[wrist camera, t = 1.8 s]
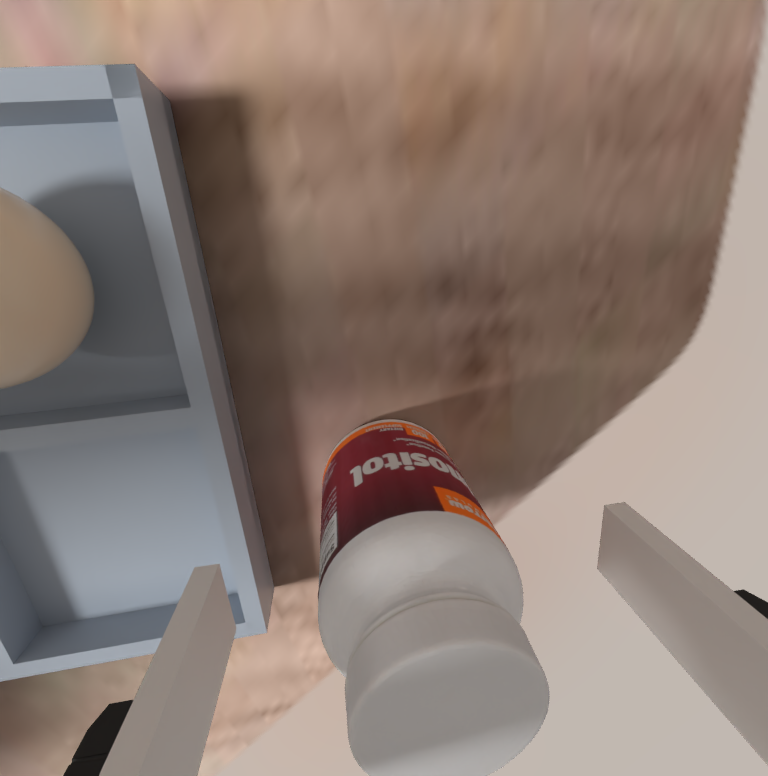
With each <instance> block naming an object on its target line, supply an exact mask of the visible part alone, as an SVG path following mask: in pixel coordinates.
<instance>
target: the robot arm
mask: <svg viewBox="0 0 768 776" xmlns="http://www.w3.org/2000/svg"><path fill="white" fill-rule="evenodd" d="M597 569H598V570H599V571H600V572H601V573H602V575H603V576H604V577H605V578H606V579H607V580H608V582H609V583H610V584H611V585H612V586H613V587H614V588H615V590H616V591H617V592H618V593H619V594H620V595H621V597H622V598H623V599H624V600H625V601H626V602H627V603H628V605H629V606H630V607H631V608H632V609H633V610H634V612H635V613H636V614H637V615H638V616H639V617H640V618H641V620H642V621H643V622H644V623H645V624H646V625H647V627H648V628H649V629H650V630H651V631H652V632H653V633H654V635H655V636H656V637H657V638H658V639H659V640H660V642H661V643H662V644H663V645H664V646H665V647H666V648H667V650H668V651H669V652H670V653H671V654H672V655H673V657H674V658H675V659H676V660H677V661H678V662H679V664H680V665H681V666H682V667H683V668H684V669H685V670H686V672H687V673H688V674H689V675H690V676H691V677H692V679H693V680H694V681H695V682H696V683H697V684H698V685H699V687H700V688H701V689H702V690H703V691H704V692H705V694H706V695H707V696H708V697H709V698H710V699H711V700H712V702H713V703H714V704H715V705H716V706H717V707H718V709H719V710H720V711H721V712H722V713H723V714H724V715H725V717H726V718H727V719H728V720H729V721H730V722H731V724H732V725H733V726H734V727H735V728H736V729H737V730H738V732H739V733H740V734H741V735H742V736H743V737H744V739H745V740H746V741H747V742H748V743H749V744H750V745H751V747H752V748H753V749H754V750H755V751H756V752H757V754H758V755H759V756H760V757H761V758H762V759H763V760H764V761H765V763H766V764H767V765H768V602H766V601H764V600H762V599H760V598H758V597H756V596H755V595H753V594H751V593H749V592H747V591H745V590H738V591H733V590H731V589H730V588H729V587H728V586H726V585H725V584H724V583H723V582H722V581H720V580H719V579H718V578H717V577H715V576H714V575H713V574H712V573H711V572H709V571H708V570H707V569H706V568H704V567H703V566H702V565H701V564H699V563H698V562H697V561H696V560H695V559H693V558H692V557H691V556H690V555H689V554H687V553H686V552H685V551H684V550H682V549H681V548H680V547H679V546H677V545H676V544H675V543H674V542H673V541H671V540H670V539H669V538H668V537H667V536H665V535H664V534H663V533H662V532H660V531H659V530H658V529H657V528H656V527H654V526H653V525H652V524H651V523H649V522H648V521H647V520H646V519H645V518H643V517H642V516H641V515H640V514H638V513H637V512H636V511H635V510H633V509H632V508H631V507H630V506H629V505H627V504H626V503H625V502H624V503H617V504H610V505H605V506H604V512H603V521H602V531H601V539H600V548H599V557H598V566H597ZM235 632H236V625H235V621H234V617H233V614H232V610H231V606H230V602H229V598H228V595H227V591H226V587H225V583H224V579H223V576H222V572H221V568H220V564H213V565H207V566H200V567H194V570H193V572H192V574H191V576H190V578H189V581H188V583H187V585H186V587H185V589H184V591H183V594H182V596H181V598H180V600H179V602H178V604H177V607H176V609H175V611H174V613H173V615H172V618H171V620H170V622H169V624H168V626H167V628H166V631H165V633H164V635H163V637H162V639H161V641H160V644H159V646H158V648H157V650H156V652H155V655H154V657H153V659H152V661H151V663H150V665H149V668H148V670H147V672H146V674H145V676H144V678H143V681H142V683H141V685H140V687H139V689H138V692H137V694H136V696H135V698H134V700H129V701H124V702H118V703H112V704H109V705H108V706H107V708H106V709H105V710H104V711H103V712H102V713H101V715H100V716H99V717H98V718H97V719H96V721H95V722H94V723H93V724H92V725H91V726H90V728H89V729H88V730H87V732H86V734H85V736H84V738H83V739H82V741H81V743H80V745H79V747H78V749H77V751H76V753H75V755H74V756H73V758H72V763H71V765H69V766H68V768H67V770H66V772H65V773H64V775H63V776H197V775H198V771H199V767H200V763H201V760H202V756H203V752H204V748H205V745H206V741H207V737H208V733H209V730H210V726H211V722H212V718H213V715H214V711H215V707H216V703H217V700H218V696H219V692H220V688H221V685H222V681H223V677H224V673H225V670H226V666H227V662H228V659H229V655H230V651H231V647H232V644H233V640H234V636H235Z"/></svg>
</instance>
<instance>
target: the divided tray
mask: <svg viewBox="0 0 768 776" xmlns="http://www.w3.org/2000/svg"><path fill="white" fill-rule="evenodd" d="M0 187H1V188H3V189H5V190H7V191H9V192H11V193H13V194H15V195H17V196H19V197H21V198H22V199H24V200H25V201H27V202H28V203H30V204H32V205H33V206H35V207H36V208H37V209H38V210H40V211H41V212H42V213H44V214H45V215H46V216H47V217H49V218H50V219H51V220H52V221H54V222H55V223H56V224H57V225H58V226H59V227H60V228H61V229H62V230H63V231H64V232H65V234H66V235H67V236H68V237H69V238H70V240H71V241H72V242H73V243H74V245H75V246H76V248H77V249H78V251H79V252H80V254H81V256H82V257H83V259H84V261H85V263H86V265H87V268H88V270H89V273H90V276H91V279H92V283H93V288H94V298H95V299H94V313H93V318H92V322H91V325H90V327H89V330H88V332H87V334H86V336H85V338H84V339H83V341H82V342H81V344H80V345H79V347H78V348H77V349H76V350H75V352H74V353H73V354H72V355H71V356H69V357H68V358H67V359H66V360H65V361H64V362H63V363H61V364H60V365H59V366H57V367H56V368H54V369H53V370H51V371H50V372H48V373H46V374H44V375H42V376H40V377H37V378H35V379H33V380H31V381H28V382H25V383H22V384H18V385H15V386H12V387H8V388H4V389H0V682H1V681H6V680H12V679H17V678H23V677H28V676H34V675H39V674H45V673H50V672H56V671H61V670H66V669H72V668H77V667H83V666H88V665H94V664H99V663H105V662H110V661H116V660H121V659H127V658H132V657H137V656H143V655H148V654H154V653H155V652H156V650H157V648H158V646H159V644H160V641H161V639H162V637H163V635H164V633H165V631H166V628H167V626H168V624H169V622H170V620H171V618H172V615H173V613H174V611H175V609H176V607H177V604H178V602H179V600H180V598H181V596H182V594H183V591H184V589H185V587H186V585H187V583H188V581H189V578H190V576H191V574H192V572H193V570H194V567H200V566H207V565H213V564H220V568H221V572H222V576H223V579H224V583H225V587H226V591H227V595H228V598H229V602H230V606H231V610H232V614H233V617H234V621H235V625H236V632H235V636H234V639H236V638H241V637H247V636H252V635H258V634H263V633H267V629H268V623H269V617H270V611H271V605H272V599H273V593H274V584H273V580H272V575H271V570H270V566H269V561H268V556H267V552H266V547H265V542H264V538H263V533H262V528H261V524H260V519H259V514H258V510H257V505H256V500H255V496H254V491H253V487H252V482H251V477H250V473H249V468H248V463H247V459H246V454H245V449H244V445H243V440H242V435H241V431H240V426H239V421H238V417H237V412H236V407H235V403H234V398H233V393H232V389H231V384H230V379H229V375H228V370H227V365H226V361H225V356H224V352H223V347H222V342H221V338H220V333H219V328H218V324H217V319H216V314H215V310H214V305H213V300H212V296H211V291H210V286H209V282H208V277H207V272H206V268H205V263H204V258H203V254H202V249H201V244H200V240H199V235H198V230H197V226H196V221H195V217H194V212H193V207H192V203H191V198H190V193H189V189H188V184H187V179H186V175H185V170H184V165H183V161H182V156H181V151H180V147H179V142H178V137H177V133H176V128H175V123H174V119H173V114H172V109H171V105H170V101H169V99H168V98H167V97H166V96H165V95H164V94H163V93H162V92H161V91H160V90H159V89H158V88H157V87H156V86H155V85H154V84H153V83H152V82H151V81H150V80H149V79H148V78H147V77H146V76H145V74H144V73H143V72H142V71H141V70H140V69H139V68H138V67H137V66H136V65H135V64H116V65H81V66H46V67H11V68H0Z"/></svg>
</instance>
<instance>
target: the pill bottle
mask: <svg viewBox="0 0 768 776" xmlns="http://www.w3.org/2000/svg"><path fill="white" fill-rule="evenodd" d="M320 537H321V539H320V572H319V591H318V622H319V630H320V635H321V638H322V642H323V645H324V647H325V649H326V652H327V654H328V656H329V658H330V660H331V661H332V663H333V664H334V665H335V667H336V668H337V669H338V670H339V671H340V672H341V673H342V674H343V676H344V677H346V681H345V698H346V711H347V725H348V738H349V744H350V748H351V750H352V753H353V756H354V758H355V760H356V761H357V763H358V764H359V766H360V767H361V768H362V769H363V770H364V771H365V772H366V773H367V774H368V775H369V776H487V775H489V774H491V773H493V772H495V771H497V770H498V769H500V768H502V767H503V766H505V765H506V764H507V763H508V762H510V761H511V760H512V759H514V758H515V757H516V756H517V755H518V754H519V753H520V752H522V751H523V749H524V748H525V747H526V746H527V745H528V744H529V743H530V742H531V741H532V739H533V738H534V736H535V735H536V734H537V732H538V731H539V729H540V727H541V725H542V724H543V721H544V719H545V717H546V714H547V711H548V705H549V687H548V683H547V679H546V676H545V673H544V671H543V669H542V667H541V665H540V663H539V661H538V659H537V657H536V655H535V653H534V651H533V649H532V647H531V645H530V643H529V641H528V638H527V636H526V634H525V632H524V630H523V629H522V627H521V626H520V621H521V617H522V611H523V588H522V583H521V578H520V575H519V572H518V569H517V566H516V564H515V562H514V560H513V558H512V556H511V555H510V553H509V550H508V548H507V547H506V545H505V544H504V542H503V541H502V539H501V538H500V536H499V534H498V533H497V531H496V529H495V528H494V526H493V524H492V523H491V521H490V520H489V518H488V517H487V515H486V514H485V512H484V511H483V509H482V508H481V506H480V504H479V503H478V501H477V499H476V498H475V496H474V494H473V493H472V492H471V490H470V488H469V487H468V485H467V483H466V482H465V480H464V479H463V477H462V475H461V474H460V472H459V471H458V469H457V467H456V466H455V464H454V462H453V461H452V459H451V458H450V456H449V454H448V453H447V451H446V449H445V448H444V447H443V446H442V444H441V443H440V441H439V440H438V439H437V438H436V437H435V436H434V435H433V434H432V433H430V432H429V431H428V430H426V429H425V428H423V427H421V426H419V425H417V424H414V423H411V422H408V421H403V420H396V419H386V420H379V421H375V422H371V423H368V424H365V425H363V426H360V427H358V428H357V429H355V430H353V431H352V432H350V433H349V434H347V435H346V436H345V437H344V438H343V439H342V440H341V441H340V442H339V443H338V444H337V445H336V446H335V448H334V449H333V451H332V453H331V454H330V456H329V458H328V461H327V463H326V466H325V471H324V476H323V484H322V513H321V536H320Z"/></svg>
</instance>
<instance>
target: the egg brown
mask: <svg viewBox="0 0 768 776" xmlns="http://www.w3.org/2000/svg"><path fill="white" fill-rule="evenodd" d="M94 299H95V298H94V288H93V283H92V279H91V276H90V273H89V270H88V268H87V265H86V263H85V261H84V259H83V257H82V256H81V254H80V252H79V251H78V249H77V248H76V246H75V245H74V243H73V242H72V241H71V240H70V238H69V237H68V236H67V235H66V234H65V232H64V231H63V230H62V229H61V228H60V227H59V226H58V225H57V224H56V223H55V222H54V221H52V220H51V219H50V218H49V217H47V216H46V215H45V214H44V213H42V212H41V211H40V210H38V209H37V208H36V207H35V206H33V205H32V204H30V203H28V202H27V201H25V200H24V199H22V198H21V197H19V196H17V195H15V194H13V193H11V192H9V191H7V190H5V189H3V188H1V187H0V389H4V388H8V387H12V386H15V385H18V384H22V383H25V382H28V381H31V380H33V379H35V378H37V377H40V376H42V375H44V374H46V373H48V372H50V371H51V370H53V369H54V368H56V367H57V366H59V365H60V364H61V363H63V362H64V361H65V360H66V359H67V358H68V357H69V356H71V355H72V354H73V353H74V352H75V350H76V349H77V348H78V347H79V345H80V344H81V342H82V341H83V339H84V338H85V336H86V334H87V332H88V330H89V327H90V325H91V322H92V318H93V313H94Z"/></svg>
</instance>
